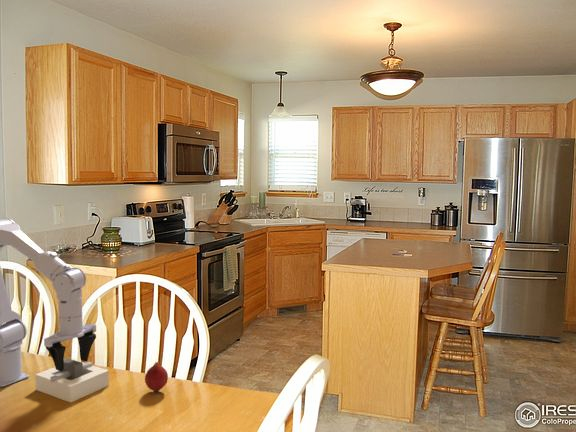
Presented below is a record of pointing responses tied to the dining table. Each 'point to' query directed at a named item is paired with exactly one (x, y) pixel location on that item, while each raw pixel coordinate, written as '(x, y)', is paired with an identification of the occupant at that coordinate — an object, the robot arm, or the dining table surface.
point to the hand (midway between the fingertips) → (72, 365)
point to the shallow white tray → (72, 382)
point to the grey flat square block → (73, 368)
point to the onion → (156, 377)
